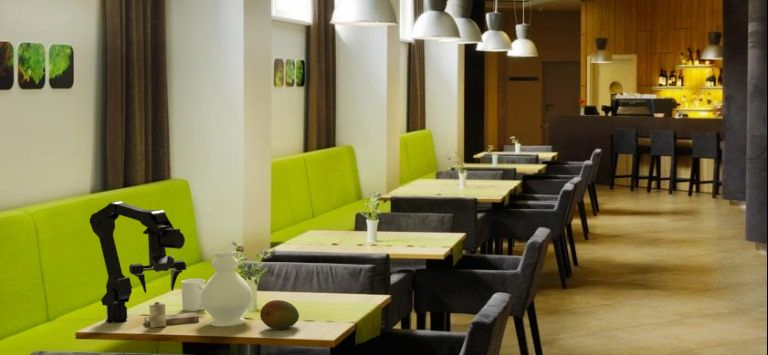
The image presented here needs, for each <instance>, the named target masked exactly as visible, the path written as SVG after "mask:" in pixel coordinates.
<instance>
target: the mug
mask: <svg viewBox="0 0 768 355" xmlns="http://www.w3.org/2000/svg"><path fill="white" fill-rule="evenodd" d="M180 284H181V302H182V309H183V311H186V312H198V310H200V311H203V310H206V309H205V308H204V307H203V305H202V303H201V292H202V290H203V288H204V286H205V284H206V280H205V279H204V278H188V279H184V280H181V283H180Z"/></svg>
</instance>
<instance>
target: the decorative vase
mask: <svg viewBox="0 0 768 355" xmlns="http://www.w3.org/2000/svg"><path fill="white" fill-rule="evenodd" d="M236 253H237V251H236V250H230V249H228V250H227V249H226V250H225V249H224V250H223V249H222V250H217V251H213V255H214V256H216V257H215V258H213V259H212V261H211V264H210V265H211V267H212V268H213V269H214V270H215V272H214V274H212V276H211V277H209V279H208V280H207V282H205V286H204V288H203V290H202V292H201V303H202V305H203V307H204V308H205V309H204V310H205V311H206V312H207V313H208V314H209V315H210V316H211V317H212V318H213V319H211V320H209V322H208V323H209V326H212V327H213V326H214V327H219V328H220V327H224V328H225V327H235V326H240V325H243V324H246V319H245V318H243V317H242V316H243V315H244V314H245V312H246V311H247V310H248V308H249V306H250V305H251V303H252V300H253V294H252V293H253V292H252V289H251V287H250V286H249V284H248V282H247V281H246V280H245V279H244V278H243V277H242V276H241V275H240V274H239V273H238V272H237V271H235V270H236V269H237V268H238V267H239V265H240V262H239V260H238V259H237V257H235V255H236Z"/></svg>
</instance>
